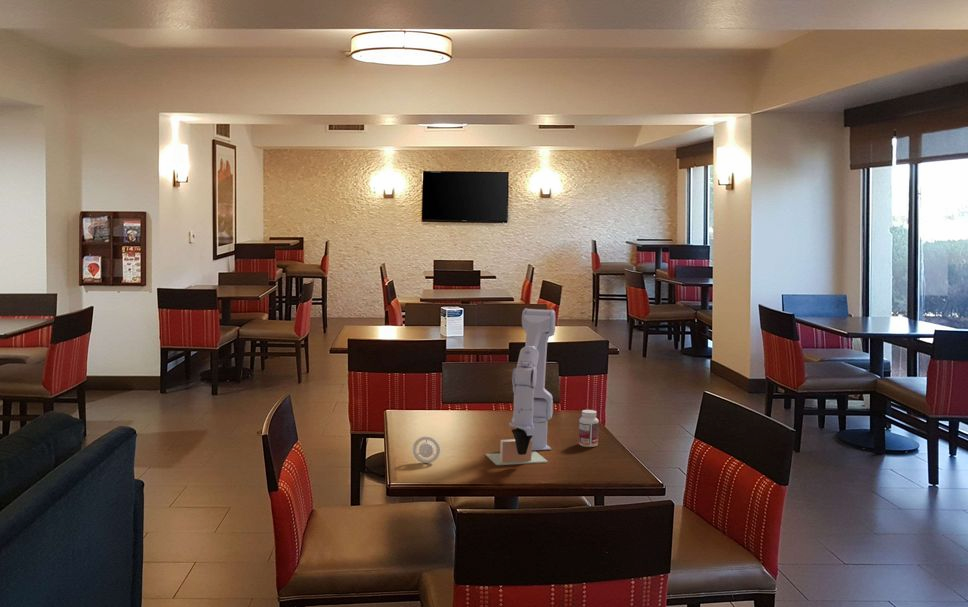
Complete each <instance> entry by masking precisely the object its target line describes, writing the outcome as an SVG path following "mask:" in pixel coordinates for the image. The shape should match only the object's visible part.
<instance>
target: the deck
mask: <svg viewBox="0 0 968 607" xmlns="http://www.w3.org/2000/svg"><path fill="white" fill-rule="evenodd" d="M499 445H500V446H499V448H500V451H499V453H500V460H501V461H502V462H510V461H529V460H531V454H532V452H533V450H532V440H530V442H529V445H528V449H527V452H526V454H525V455H519V454H518V452H517V447H516V441H515V438H511V439H509V438H508V439H500V444H499Z"/></svg>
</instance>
